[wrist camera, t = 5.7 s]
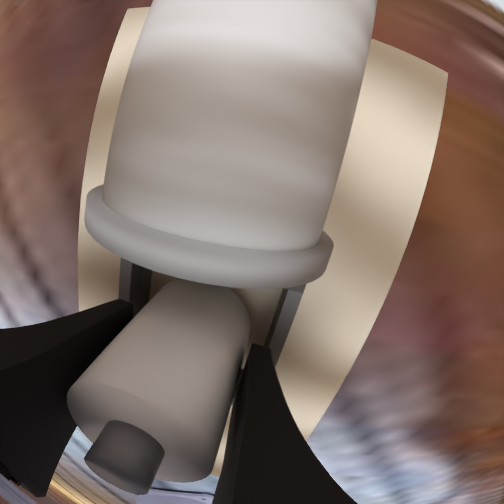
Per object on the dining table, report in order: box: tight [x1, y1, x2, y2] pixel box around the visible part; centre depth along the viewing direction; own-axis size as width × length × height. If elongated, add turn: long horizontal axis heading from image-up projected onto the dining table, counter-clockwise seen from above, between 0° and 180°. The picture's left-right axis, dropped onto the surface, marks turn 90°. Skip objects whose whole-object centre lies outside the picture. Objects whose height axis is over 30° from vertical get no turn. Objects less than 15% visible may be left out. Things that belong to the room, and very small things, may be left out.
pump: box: [67, 278, 251, 495], centre depth 8 cm, size 4×4×7 cm
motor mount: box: [78, 0, 448, 477], centre depth 10 cm, size 27×14×7 cm, turn 166°
